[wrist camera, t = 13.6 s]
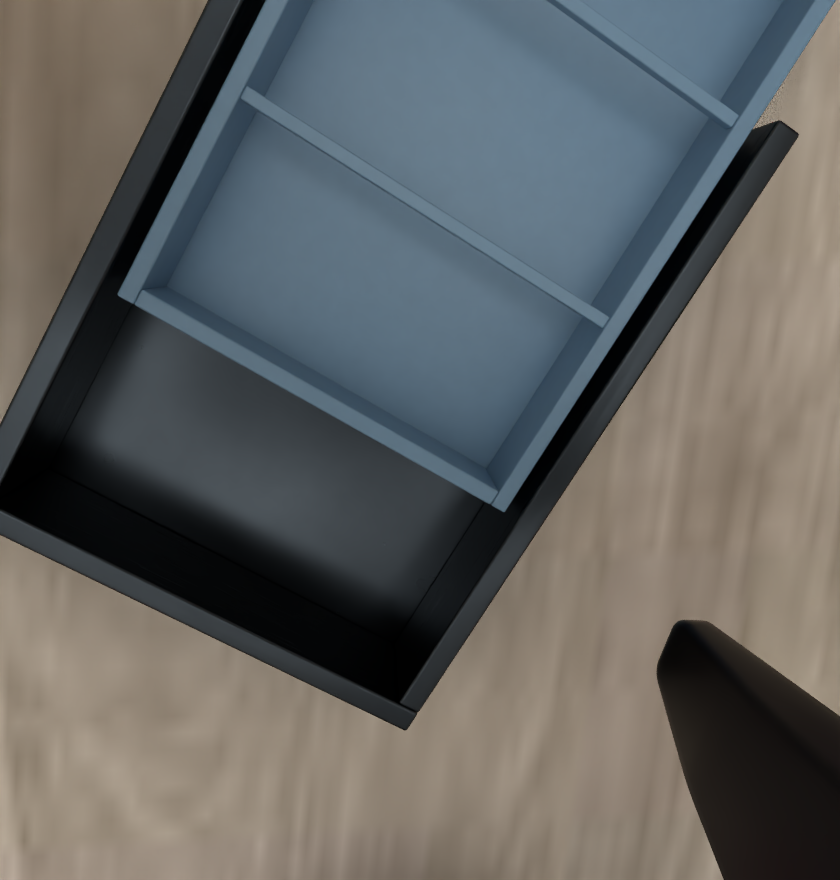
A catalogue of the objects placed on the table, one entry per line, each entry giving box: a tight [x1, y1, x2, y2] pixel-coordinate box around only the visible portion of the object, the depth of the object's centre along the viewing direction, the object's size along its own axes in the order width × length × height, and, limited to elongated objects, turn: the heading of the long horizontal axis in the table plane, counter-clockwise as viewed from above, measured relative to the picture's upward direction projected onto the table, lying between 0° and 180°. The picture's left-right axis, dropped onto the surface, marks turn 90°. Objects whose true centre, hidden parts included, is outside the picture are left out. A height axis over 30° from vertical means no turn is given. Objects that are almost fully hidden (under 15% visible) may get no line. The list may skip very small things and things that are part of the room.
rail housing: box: [0, 0, 799, 730], centre depth 18 cm, size 17×12×4 cm
